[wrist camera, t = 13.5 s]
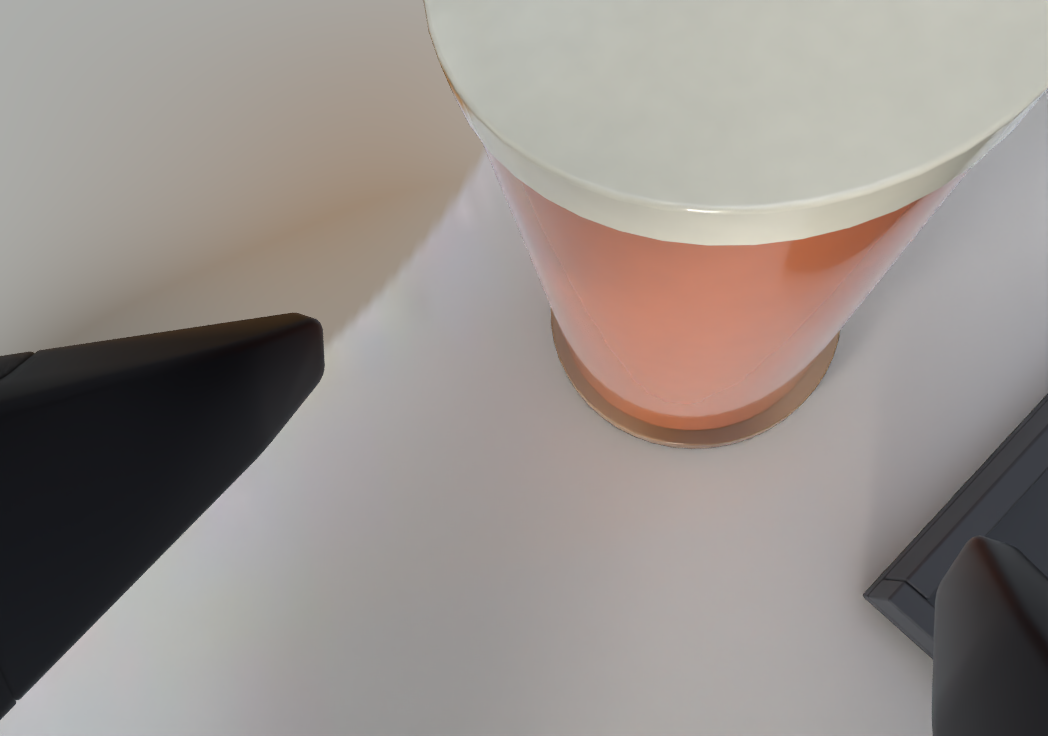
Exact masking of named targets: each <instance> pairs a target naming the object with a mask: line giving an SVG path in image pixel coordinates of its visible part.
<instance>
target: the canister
mask: <svg viewBox="0 0 1048 736" xmlns="http://www.w3.org/2000/svg"><path fill="white" fill-rule="evenodd" d="M424 6H425V12H426V18H427V24H428V30H429V33H430V36H431V39H432V42H433V45H434V48H435V51H436V54H437V57H438V60H439V62H440V64H441V67H442V69H443V72H444V74H445V76H446V78H447V81H448V83H449V85H450V88H451V90H452V92H453V94H454V97H455V99H456V101H457V103H458V105H459V106H460V108H461V110H462V112H463V114H464V116H465V117H466V119H467V121H468V123H469V125H470V127H471V128H472V129H473V131H474V132H475V133H476V135H477V136H478V137H479V138H480V140H481V141H482V143H483V145H484V148H485V150H486V153H487V155H488V157H489V160H490V162H491V165H492V167H493V169H494V172H495V174H496V177H497V179H498V181H499V184H500V186H501V189H502V191H503V193H504V196H505V198H506V200H507V203H508V205H509V208H510V210H511V212H512V215H513V217H514V220H515V222H516V224H517V227H518V229H519V232H520V234H521V236H522V239H523V241H524V244H525V246H526V248H527V251H528V253H529V256H530V258H531V260H532V263H533V265H534V268H535V270H536V272H537V275H538V277H539V280H540V282H541V284H542V287H543V289H544V292H545V294H546V296H547V299H548V301H549V304H550V306H551V308H552V311H553V313H554V315H555V318H556V320H557V323H558V325H559V327H560V330H561V332H562V335H563V337H564V339H565V342H566V344H567V347H568V349H569V351H570V354H571V356H572V358H573V360H574V362H575V364H576V366H577V367H578V369H579V371H580V372H581V374H582V375H583V376H584V378H585V379H586V381H587V382H588V383H589V384H590V385H591V386H592V387H593V388H594V389H595V391H596V392H597V393H598V394H599V395H601V396H602V397H603V398H604V399H605V400H607V401H608V402H609V403H610V404H612V405H613V406H615V407H616V408H618V409H620V410H621V411H623V412H624V413H626V414H628V415H630V416H633V417H635V418H637V419H639V420H641V421H644V422H647V423H651V424H654V425H657V426H661V427H667V428H673V429H684V430H702V429H714V428H718V427H723V426H728V425H732V424H735V423H738V422H741V421H744V420H746V419H749V418H751V417H753V416H755V415H757V414H759V413H761V412H763V411H765V410H766V409H768V408H769V407H771V406H772V405H774V404H775V403H776V402H778V401H779V400H780V399H782V398H783V397H784V396H785V395H786V394H787V393H788V392H789V391H790V390H792V388H793V387H794V386H795V385H796V384H797V383H798V381H799V380H800V379H801V378H802V377H803V375H804V374H805V373H806V372H807V370H808V369H809V368H810V367H811V365H812V364H813V363H814V362H815V360H816V359H817V358H818V357H819V355H820V354H821V353H822V352H823V351H824V349H825V348H826V347H827V346H828V344H829V343H830V342H831V341H832V339H833V338H834V337H835V336H836V334H837V333H838V332H839V331H840V329H841V328H842V327H843V326H844V324H845V323H846V322H847V321H848V320H849V318H850V317H851V316H852V315H853V313H854V312H855V311H856V310H857V308H858V307H859V306H860V305H861V303H862V302H863V301H864V300H865V298H866V297H867V296H868V295H869V293H870V292H871V291H872V290H873V289H874V287H875V286H876V285H877V284H878V282H879V281H880V280H881V279H882V277H883V276H884V275H885V274H886V272H887V271H888V270H889V269H890V267H891V266H892V265H893V264H894V262H895V261H896V260H897V259H898V258H899V256H900V255H901V254H902V253H903V251H904V250H905V249H906V248H907V246H908V245H909V244H910V243H911V241H912V240H913V239H914V238H915V236H916V235H917V234H918V233H919V231H920V230H921V229H922V228H923V226H924V225H925V224H926V223H927V222H928V220H929V219H930V218H931V217H932V215H933V214H934V213H935V212H936V210H937V209H938V208H939V207H940V205H941V204H942V203H943V202H944V200H945V199H946V198H947V197H948V195H949V194H950V193H951V192H952V191H953V189H954V188H955V187H956V186H957V184H958V183H959V182H960V181H961V179H962V178H963V177H964V176H965V174H966V173H967V172H968V171H969V169H970V168H971V167H972V166H973V165H975V164H976V163H977V162H979V161H980V160H981V159H982V158H983V157H984V156H985V155H987V154H988V153H989V152H990V151H991V150H992V149H993V148H994V147H995V146H997V145H998V144H999V143H1000V142H1001V141H1002V140H1003V139H1004V138H1006V137H1007V136H1008V135H1009V134H1010V133H1011V132H1012V131H1013V130H1014V129H1015V127H1016V126H1017V125H1018V124H1019V123H1020V121H1021V120H1022V119H1023V118H1024V117H1025V116H1026V114H1027V113H1028V112H1029V111H1030V110H1031V108H1032V107H1033V106H1034V105H1035V104H1036V102H1037V101H1038V100H1039V99H1040V98H1041V96H1042V95H1043V94H1044V93H1045V92H1046V90H1047V89H1048V0H424Z"/></svg>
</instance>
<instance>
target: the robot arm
mask: <svg viewBox="0 0 1048 736" xmlns="http://www.w3.org/2000/svg"><path fill="white" fill-rule="evenodd" d="M324 367H325V363H324V344H323V329H322V326H321V324H320V322H319V321H318V320H316V319H314V318H311V317H308V316H305V315H302V314H299V313H288V314H281V315H275V316H268V317H261V318H254V319H247V320H241V321H234V322H227V323H220V324H214V325H207V326H200V327H193V328H187V329H180V330H173V331H167V332H160V333H153V334H147V335H140V336H133V337H126V338H120V339H113V340H106V341H99V342H92V343H86V344H79V345H73V346H65V347H59V348H52V349H46V350H39V351H37V352H36V353H33V352H24V353H18V354H11V355H5V356H0V720H1V719H2V718H3V717H4V716H5V715H6V714H7V713H8V711H9V710H10V709H11V708H12V707H13V706H14V705H15V704H16V700H19V699H21V698H22V697H23V696H24V695H25V694H26V693H27V692H28V691H29V690H30V689H31V688H32V687H33V685H34V684H35V683H36V682H37V681H38V680H39V679H40V678H41V677H42V676H43V675H44V674H45V673H46V672H47V671H48V670H49V669H50V668H51V667H52V666H53V665H54V664H55V663H56V662H57V661H58V660H59V659H60V658H61V657H62V656H63V655H64V654H65V653H66V652H67V651H68V650H69V649H70V648H71V647H72V646H73V645H74V644H75V643H76V642H77V641H78V640H79V639H80V638H81V637H82V636H83V635H84V634H85V633H86V632H87V631H88V630H89V629H90V628H91V627H92V626H93V625H94V624H95V623H96V622H97V620H98V619H99V618H100V617H101V616H102V615H103V614H104V613H105V612H106V611H107V610H108V609H109V608H110V607H111V606H112V605H113V604H114V603H115V602H116V601H117V600H118V599H119V598H120V597H121V596H122V595H123V594H124V593H125V592H126V591H127V590H128V589H129V588H130V587H131V586H132V585H133V584H134V583H135V582H136V581H137V580H138V579H139V578H140V577H141V576H142V575H143V574H144V573H145V572H146V571H147V570H148V569H149V568H150V567H151V566H152V565H153V564H154V563H155V562H156V561H157V560H158V559H159V558H160V556H161V555H162V554H163V553H164V552H165V551H166V550H167V549H168V548H169V547H170V546H171V545H172V544H173V543H174V542H175V541H176V540H177V539H178V538H179V537H180V536H181V535H182V534H183V533H184V532H185V531H186V530H187V529H188V528H189V527H190V526H191V525H192V524H193V523H194V522H195V521H196V520H197V519H198V518H199V517H200V516H201V515H202V514H203V513H204V512H205V511H206V510H207V509H208V508H209V507H210V506H211V505H212V504H213V503H214V502H215V501H216V500H217V499H218V498H219V497H220V496H221V495H222V494H223V493H224V491H225V490H226V489H227V488H228V487H229V486H230V485H231V484H232V483H233V482H234V481H235V480H236V479H237V478H238V477H239V476H240V475H241V474H242V473H243V472H244V471H245V470H246V469H247V468H248V467H249V466H250V465H251V464H252V463H253V462H254V461H255V460H256V459H257V458H258V457H259V456H260V454H261V453H262V452H263V451H264V450H265V449H266V448H267V446H268V445H269V444H270V443H271V442H272V441H273V439H274V438H275V437H276V436H277V434H278V433H279V432H280V431H281V429H282V428H283V427H284V426H285V424H286V423H287V422H288V421H289V419H290V418H291V417H292V416H293V414H294V413H295V412H296V411H297V409H298V408H299V407H300V406H301V404H302V403H303V402H304V401H305V399H306V398H307V397H308V396H309V394H310V393H311V392H312V391H313V389H314V388H315V387H316V386H317V384H318V383H319V382H320V380H321V378H322V376H323V373H324ZM932 728H933V736H1048V578H1047V577H1046V576H1045V575H1044V574H1043V573H1042V572H1041V571H1040V570H1039V569H1038V568H1037V567H1036V566H1035V565H1034V564H1033V563H1032V562H1031V561H1030V560H1029V559H1028V558H1027V557H1026V556H1025V555H1024V554H1023V553H1022V552H1021V551H1020V550H1019V549H1018V548H1016V547H1014V546H1012V545H1009V544H1006V543H1003V542H1000V541H997V540H993V539H990V538H987V537H984V536H980V535H979V536H975V537H972V538H971V539H970V540H969V541H968V542H967V543H966V544H965V546H964V547H963V549H962V550H961V552H960V553H959V555H958V556H957V558H956V559H955V561H954V562H953V564H952V565H951V567H950V568H949V570H948V571H947V573H946V574H945V576H944V577H943V579H942V581H941V582H940V584H939V587H938V590H937V593H936V598H935V622H934V652H933V683H932Z"/></svg>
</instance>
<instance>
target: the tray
mask: <svg viewBox="0 0 1048 736" xmlns="http://www.w3.org/2000/svg"><path fill="white" fill-rule="evenodd" d="M979 535H980V536H984V537H987V538H990V539H993V540H997V541H1000V542H1003V543H1006V544H1009V545H1012V546H1014V547H1016V548H1018V549H1019V550H1020V551H1021V552H1022V553H1023V554H1024V555H1025V556H1026V557H1027V558H1028V559H1029V560H1030V561H1031V562H1032V563H1033V564H1034V565H1035V566H1036V567H1037V568H1038V569H1039V570H1040V571H1041V572H1042V573H1043V574H1044V575H1045V576H1046V577H1047V578H1048V394H1047V395H1046V396H1045V398H1044V399H1043V400H1042V401H1041V402H1040V403H1039V404H1038V405H1037V406H1036V407H1035V408H1034V409H1033V411H1032V412H1031V413H1030V414H1029V415H1028V416H1027V417H1026V418H1025V419H1024V420H1023V421H1022V423H1021V424H1020V425H1019V426H1018V427H1017V428H1016V429H1015V430H1014V431H1013V432H1012V433H1011V434H1010V436H1009V437H1008V438H1007V439H1006V440H1005V441H1004V442H1003V443H1002V444H1001V445H1000V446H999V448H998V449H997V450H996V451H995V452H994V453H993V454H992V455H991V456H990V457H989V458H988V459H987V461H986V462H985V463H984V464H983V465H982V466H981V467H980V468H979V469H978V470H977V471H976V472H975V474H974V475H973V476H972V477H971V478H970V479H969V480H968V481H967V482H966V483H965V484H964V486H963V487H962V488H961V489H960V490H959V491H958V492H957V493H956V494H955V495H954V496H953V497H952V499H951V500H950V501H949V502H948V503H947V504H946V505H945V506H944V507H943V508H942V509H941V511H940V512H939V513H938V514H937V515H936V516H935V517H934V518H933V519H932V520H931V521H930V522H929V524H928V525H927V526H926V527H925V528H924V529H923V530H922V531H921V532H920V533H919V534H918V536H917V537H916V538H915V539H914V540H913V541H912V542H911V543H910V544H909V545H908V546H907V547H906V549H905V550H904V551H903V552H902V553H901V554H900V555H899V556H898V557H897V558H896V559H895V561H894V562H893V563H892V564H891V565H890V566H889V567H888V568H887V569H886V570H885V571H884V572H883V574H882V575H881V576H880V577H879V578H878V579H877V580H876V581H875V582H874V583H873V584H872V586H871V587H870V588H869V589H868V590H867V591H866V592H865V593H864V594H863V596H864V598H865V599H867V600H868V601H869V602H870V603H871V604H872V605H873V606H874V607H875V608H877V609H878V610H879V611H880V612H881V613H882V614H883V615H884V616H885V617H887V618H888V619H889V620H890V621H891V622H892V623H893V624H894V625H896V626H897V627H898V628H899V629H900V630H901V631H902V632H903V633H904V634H906V635H907V636H908V637H909V638H910V639H911V640H912V641H913V642H914V643H916V644H917V645H918V646H919V647H920V648H921V649H922V650H923V651H924V652H926V653H927V654H928V655H929V656H930V657H931V658H932V659H933V652H934V622H935V598H936V593H937V590H938V587H939V584H940V582H941V581H942V579H943V577H944V576H945V574H946V573H947V571H948V570H949V568H950V567H951V565H952V564H953V562H954V561H955V559H956V558H957V556H958V555H959V553H960V552H961V550H962V549H963V547H964V546H965V544H966V543H967V542H968V541H969V540H970V539H971V538H972V537H975V536H979Z"/></svg>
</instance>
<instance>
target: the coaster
mask: <svg viewBox="0 0 1048 736" xmlns="http://www.w3.org/2000/svg"><path fill="white" fill-rule="evenodd" d="M551 326H552V333H553V339H554V343H555V347H556V350H557V353H558V356H559V359H560V361H561V363H562V365H563V368H564V370H565V372H566V374H567V376H568V378H569V380H570V381H571V383H572V384H573V386H574V387H575V389H576V390H577V392H578V393H579V394H580V396H581V397H582V398H583V399H584V400H585V401H586V403H587V404H588V405H589V406H590V407H591V408H592V409H593V410H595V411H596V412H597V413H598V414H599V415H600V416H601V417H602V418H604V419H605V420H607V421H608V422H610V423H611V424H613V425H614V426H616V427H617V428H619V429H621V430H623V431H625V432H627V433H629V434H631V435H633V436H635V437H637V438H640V439H643V440H646V441H649V442H651V443H656V444H660V445H665V446H669V447H678V448H689V449H695V448H713V447H719V446H725V445H730V444H734V443H737V442H740V441H744V440H747V439H750V438H752V437H754V436H756V435H759V434H761V433H763V432H765V431H767V430H769V429H770V428H772V427H774V426H775V425H777V424H778V423H780V422H782V421H783V420H784V419H786V418H787V417H788V416H789V415H790V414H792V413H793V412H794V411H795V410H796V409H798V407H799V406H800V405H801V404H802V403H803V402H804V401H805V400H806V399H807V398H808V397H809V395H810V394H811V393H812V392H813V391H814V390H815V388H816V387H817V385H818V384H819V383H820V381H821V380H822V378H823V377H824V375H825V373H826V371H827V369H828V367H829V365H830V363H831V361H832V359H833V356H834V353H835V350H836V346H837V343H838V340H839V333H840V331H839V332H838V333H837V334H836V336H835V337H834V338H833V339H832V341H831V342H830V343H829V344H828V346H827V347H826V348H825V349H824V351H823V352H822V353H821V354H820V355H819V357H818V358H817V359H816V360H815V362H814V363H813V364H812V365H811V367H810V368H809V369H808V370H807V372H806V373H805V374H804V375H803V377H802V378H801V379H800V380H799V381H798V383H797V384H796V385H795V386H794V387H793V388H792V390H790V391H789V392H788V393H787V394H786V395H785V396H784V397H783V398H782V399H780V400H779V401H778V402H776V403H775V404H774V405H772V406H771V407H769V408H768V409H766V410H765V411H763V412H761V413H759V414H757V415H755V416H753V417H751V418H749V419H746V420H744V421H741V422H738V423H735V424H732V425H728V426H723V427H718V428H714V429H702V430H684V429H673V428H667V427H661V426H657V425H654V424H651V423H647V422H644V421H641V420H639V419H637V418H635V417H633V416H630V415H628V414H626V413H624V412H623V411H621V410H620V409H618V408H616V407H615V406H613V405H612V404H610V403H609V402H608V401H607V400H605V399H604V398H603V397H602V396H601V395H599V394H598V393H597V392H596V391H595V389H594V388H593V387H592V386H591V385H590V384H589V383H588V382H587V381H586V379H585V378H584V376H583V375H582V374H581V372H580V371H579V369H578V367H577V366H576V364H575V362H574V360H573V358H572V356H571V354H570V351H569V349H568V347H567V344H566V342H565V339H564V337H563V335H562V332H561V330H560V327H559V325H558V323H557V320H556V318H555V315H554V313H553V311H552V308H551Z"/></svg>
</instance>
